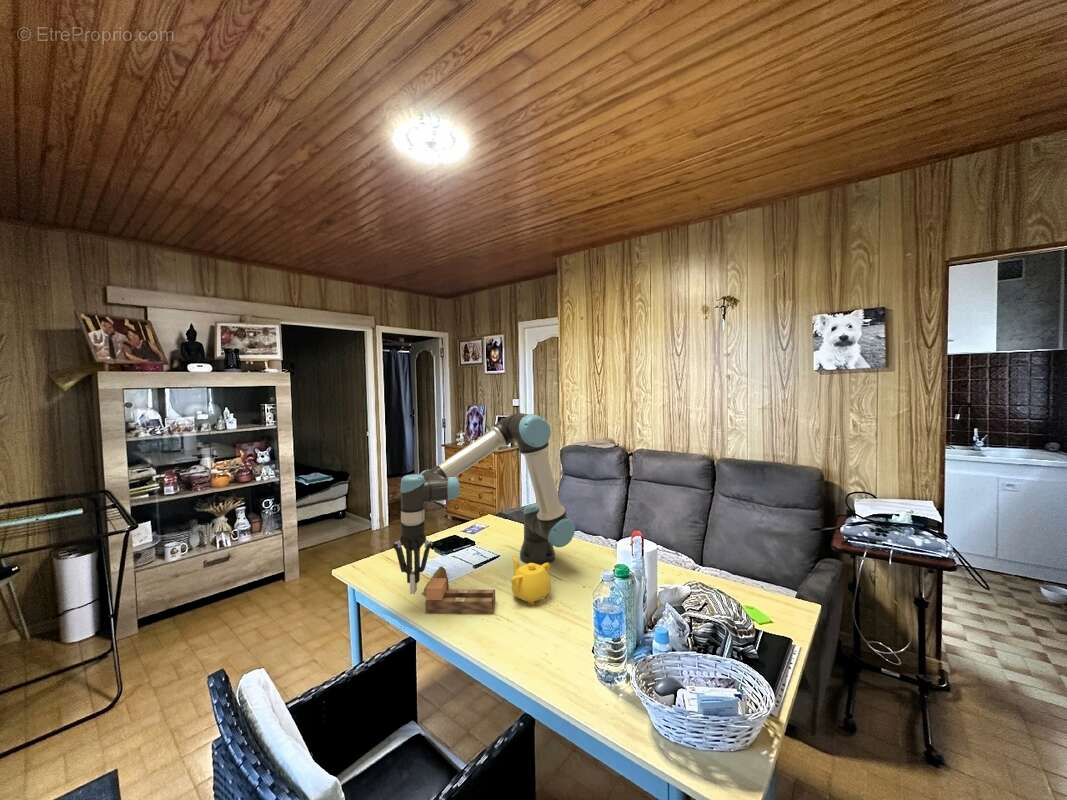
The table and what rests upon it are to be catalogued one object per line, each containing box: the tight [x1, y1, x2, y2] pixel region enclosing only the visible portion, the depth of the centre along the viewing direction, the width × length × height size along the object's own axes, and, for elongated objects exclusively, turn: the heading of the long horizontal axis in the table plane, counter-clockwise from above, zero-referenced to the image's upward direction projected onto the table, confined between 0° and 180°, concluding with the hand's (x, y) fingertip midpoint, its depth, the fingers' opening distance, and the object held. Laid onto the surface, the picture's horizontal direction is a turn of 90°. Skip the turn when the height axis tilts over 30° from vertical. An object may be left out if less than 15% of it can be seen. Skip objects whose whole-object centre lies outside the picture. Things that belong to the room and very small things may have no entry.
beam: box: [424, 588, 496, 615], centre depth 140 cm, size 22×9×4 cm, turn 90°
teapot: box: [510, 556, 552, 606], centre depth 147 cm, size 14×14×12 cm
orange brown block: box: [426, 577, 446, 600], centre depth 139 cm, size 5×7×7 cm
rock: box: [421, 565, 450, 597], centre depth 146 cm, size 11×9×10 cm
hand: (413, 591), depth 139 cm, fingers closed
